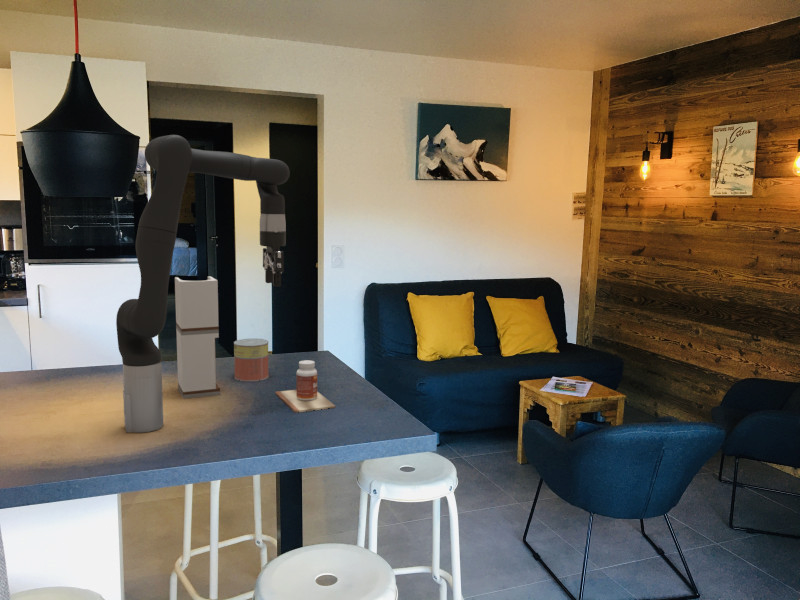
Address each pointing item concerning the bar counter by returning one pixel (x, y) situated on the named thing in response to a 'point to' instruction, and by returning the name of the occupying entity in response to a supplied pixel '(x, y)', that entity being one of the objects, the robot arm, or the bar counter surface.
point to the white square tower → (196, 336)
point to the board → (303, 402)
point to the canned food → (251, 359)
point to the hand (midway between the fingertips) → (273, 284)
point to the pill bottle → (306, 381)
